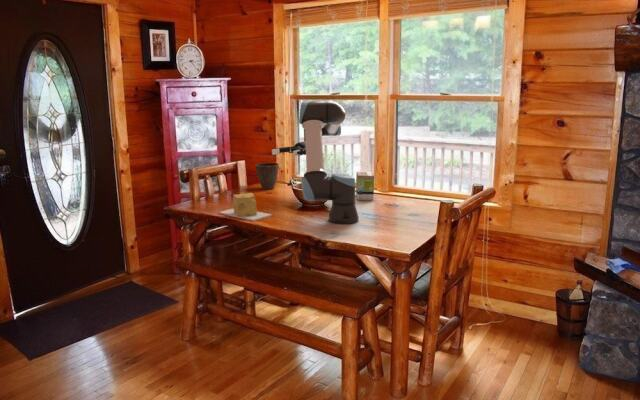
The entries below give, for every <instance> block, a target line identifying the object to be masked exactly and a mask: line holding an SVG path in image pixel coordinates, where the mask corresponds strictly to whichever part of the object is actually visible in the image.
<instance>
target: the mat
mask: <svg viewBox="0 0 640 400" xmlns="http://www.w3.org/2000/svg"><path fill="white" fill-rule="evenodd" d="M219 213H220V214H221V215H224V216H229V217H234V218H238V219H242V220H246V221H251V222H257V221H259V220H263V219H266V218H270V217H272V213H268V212H267V213H266V212H262V211H257V215H246V216H237V215H236V214H235V212H234V209H233V208H230V209H226V210H222V211H219V212H218V214H219Z"/></svg>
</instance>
